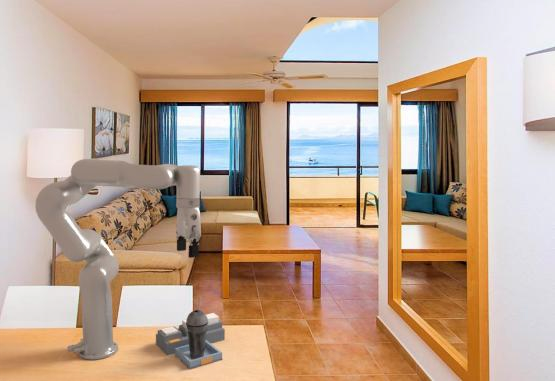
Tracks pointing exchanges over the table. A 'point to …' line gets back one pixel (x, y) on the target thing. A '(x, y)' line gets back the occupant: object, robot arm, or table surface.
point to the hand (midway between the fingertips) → (187, 253)
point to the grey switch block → (181, 338)
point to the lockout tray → (209, 357)
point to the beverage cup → (197, 332)
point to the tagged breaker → (169, 331)
